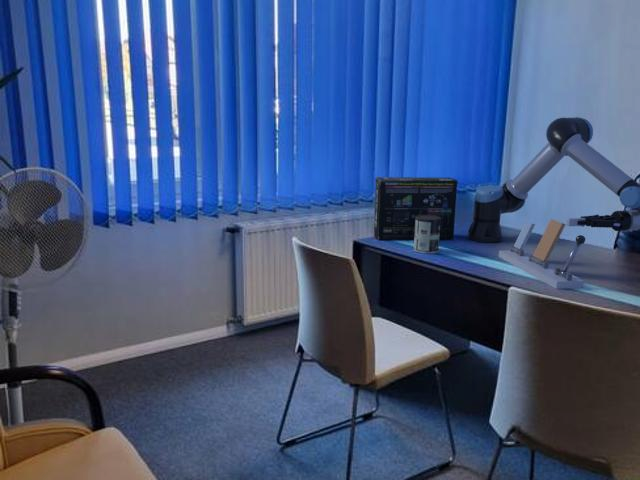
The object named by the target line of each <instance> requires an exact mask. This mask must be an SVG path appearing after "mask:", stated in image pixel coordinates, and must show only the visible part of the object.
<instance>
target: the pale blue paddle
mask: <svg viewBox="0 0 640 480" xmlns="http://www.w3.org/2000/svg"><path fill="white" fill-rule="evenodd" d="M535 226H536V224H535V223H532V222H530V221H527V220H526V221H525V222H524V224H523V226H522V229H521V231H520V233H519V235H518V237H517V238H516V241H515V243H514V247H512V251H514V252H516V253H518V254H519V250H524V248H525V246H526V244H527V242H528V240H529V238H530V237H531V236H530V235H531V234H532V232H533V230H534V228H535Z"/></svg>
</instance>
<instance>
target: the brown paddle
mask: <svg viewBox="0 0 640 480" xmlns="http://www.w3.org/2000/svg"><path fill="white" fill-rule="evenodd" d="M566 225H567V223H563V222H561V221H558V220H554V219H552V218H551V219H550V220H549V223H548V224H547V226H546V228H545V230H544V232H543V234H542V237H541V238H540V240H539V243H538V244H537V246H536V248H535V251H534V252H533V254H532V255H533V256H532V257H531V258H530V259H531V260H532V261H534V262H535V263H537V264H539V265H541V266H543V262H548V260H549V258H550V256H551V254H552V253H553V250H554V249H555V247H556V245H557V243H558V241H559V238H560V236H561V235H562V233H563V231H564V228H565V227H566Z"/></svg>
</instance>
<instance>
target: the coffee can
mask: <svg viewBox="0 0 640 480" xmlns="http://www.w3.org/2000/svg"><path fill="white" fill-rule="evenodd" d="M415 218H416V221H415V237H414V240H413V251H414V252H416V253H420V254H426V255H427V254H438V252H439V250H440V249H439V247H440V246H439V245H440V240H439V235H440V222H441V217H439V216H435V215H417V216H415Z"/></svg>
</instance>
